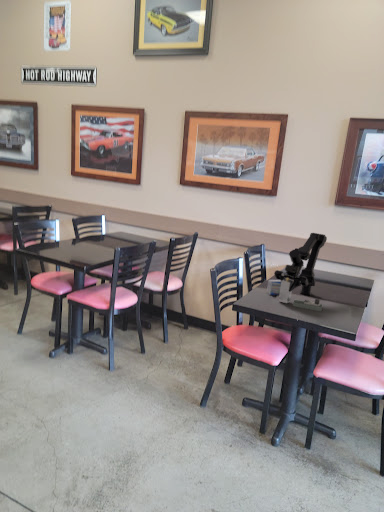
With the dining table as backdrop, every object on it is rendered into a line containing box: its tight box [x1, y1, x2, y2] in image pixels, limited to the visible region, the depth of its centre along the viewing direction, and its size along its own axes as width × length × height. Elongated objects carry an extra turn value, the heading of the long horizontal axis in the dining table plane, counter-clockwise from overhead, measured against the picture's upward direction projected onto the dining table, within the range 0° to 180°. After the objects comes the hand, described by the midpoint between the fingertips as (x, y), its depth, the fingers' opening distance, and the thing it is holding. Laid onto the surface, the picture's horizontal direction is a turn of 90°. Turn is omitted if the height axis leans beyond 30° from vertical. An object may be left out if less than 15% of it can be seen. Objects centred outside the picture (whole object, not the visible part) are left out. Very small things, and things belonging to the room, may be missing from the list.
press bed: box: [292, 299, 323, 312], centre depth 212 cm, size 17×25×3 cm
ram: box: [304, 298, 321, 307], centre depth 205 cm, size 4×8×5 cm, turn 70°
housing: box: [278, 278, 294, 304], centre depth 208 cm, size 5×5×14 cm
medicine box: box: [266, 279, 281, 296], centre depth 227 cm, size 8×4×9 cm, turn 105°
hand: (285, 290), depth 207 cm, fingers closed on housing, 5 cm apart
